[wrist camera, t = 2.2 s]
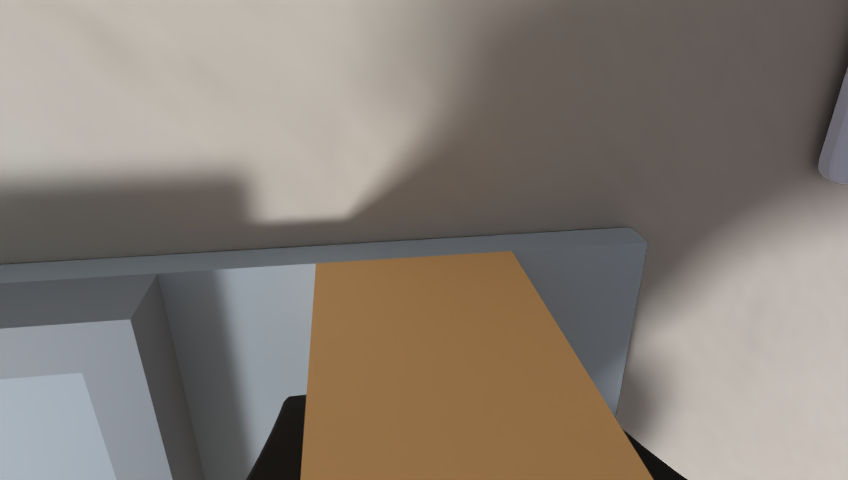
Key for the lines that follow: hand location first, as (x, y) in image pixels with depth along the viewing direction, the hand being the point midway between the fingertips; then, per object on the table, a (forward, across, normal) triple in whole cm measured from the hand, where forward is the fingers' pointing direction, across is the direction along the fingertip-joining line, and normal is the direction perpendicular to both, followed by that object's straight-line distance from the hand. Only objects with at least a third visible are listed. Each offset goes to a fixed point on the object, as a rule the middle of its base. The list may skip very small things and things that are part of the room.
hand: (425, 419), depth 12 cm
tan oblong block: (+1, 0, 0) cm, 1 cm away
